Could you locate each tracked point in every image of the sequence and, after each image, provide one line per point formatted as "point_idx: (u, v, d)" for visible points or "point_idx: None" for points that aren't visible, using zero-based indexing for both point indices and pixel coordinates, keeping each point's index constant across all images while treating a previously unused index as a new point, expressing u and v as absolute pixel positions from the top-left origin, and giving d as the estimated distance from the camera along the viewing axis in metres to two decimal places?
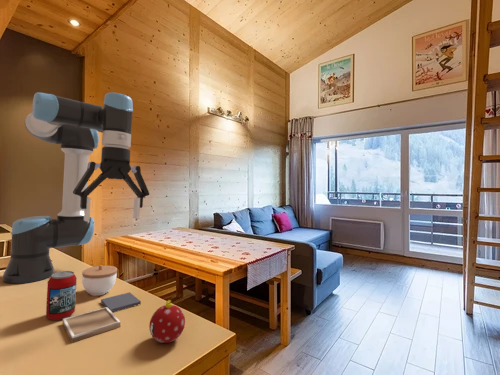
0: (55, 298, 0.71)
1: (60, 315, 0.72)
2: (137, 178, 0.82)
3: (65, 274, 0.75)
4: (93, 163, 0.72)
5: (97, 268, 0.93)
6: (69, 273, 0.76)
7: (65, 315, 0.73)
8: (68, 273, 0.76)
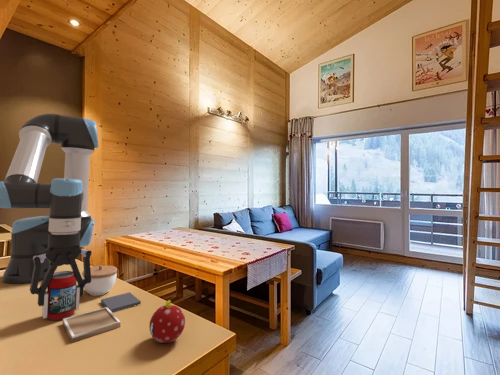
0: (55, 298, 0.71)
1: (60, 315, 0.72)
2: (84, 263, 0.78)
3: (65, 274, 0.75)
4: (37, 259, 0.69)
5: (97, 268, 0.93)
6: (69, 273, 0.76)
7: (65, 315, 0.73)
8: (68, 273, 0.76)
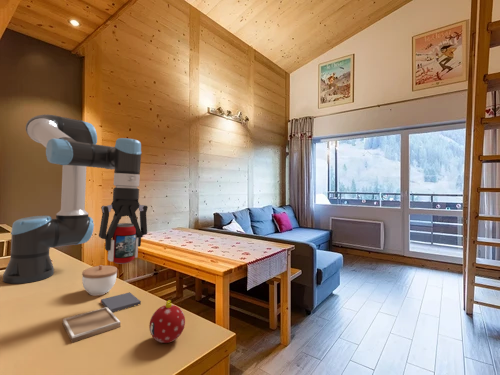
0: (120, 244, 0.81)
1: (124, 259, 0.81)
2: (141, 216, 0.88)
3: (127, 225, 0.84)
4: (106, 207, 0.79)
5: (97, 268, 0.93)
6: (129, 224, 0.85)
7: (128, 260, 0.82)
8: (129, 224, 0.85)
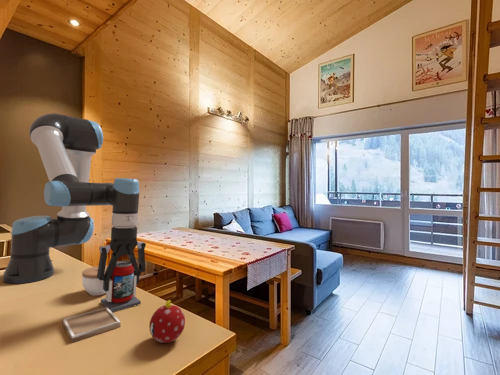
0: (118, 284, 0.81)
1: (122, 299, 0.81)
2: (139, 253, 0.88)
3: (125, 263, 0.84)
4: (104, 249, 0.79)
5: (97, 268, 0.93)
6: (127, 262, 0.85)
7: (126, 299, 0.82)
8: (127, 262, 0.85)
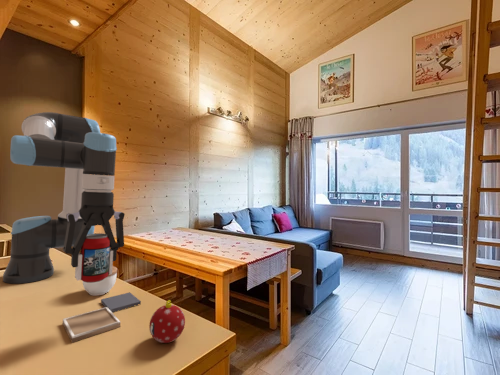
0: (89, 259, 0.67)
1: (95, 277, 0.68)
2: (117, 225, 0.74)
3: (98, 235, 0.71)
4: (71, 216, 0.65)
5: None
6: (102, 235, 0.72)
7: (100, 278, 0.69)
8: (101, 235, 0.72)
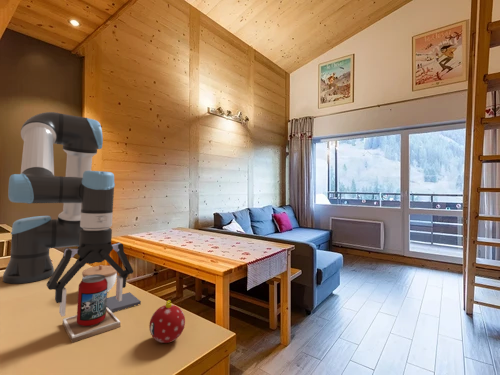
0: (87, 304, 0.67)
1: (92, 321, 0.68)
2: (120, 256, 0.75)
3: (96, 278, 0.71)
4: (69, 251, 0.65)
5: (97, 268, 0.93)
6: (100, 277, 0.72)
7: (97, 321, 0.69)
8: (99, 277, 0.72)
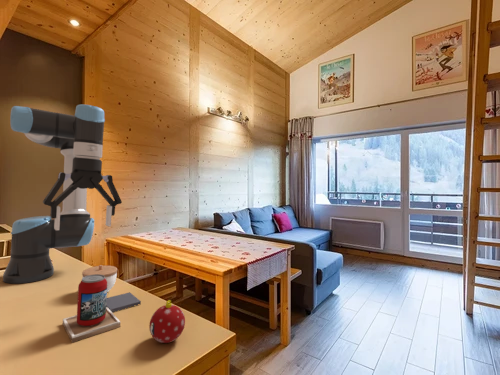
0: (86, 304, 0.67)
1: (92, 321, 0.68)
2: (109, 187, 0.84)
3: (96, 278, 0.71)
4: (63, 174, 0.74)
5: (97, 268, 0.93)
6: (100, 277, 0.72)
7: (97, 321, 0.69)
8: (99, 277, 0.72)
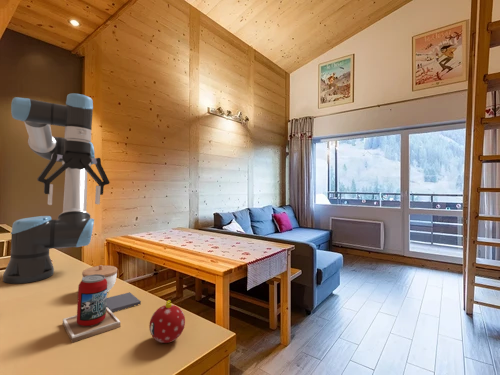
0: (87, 304, 0.67)
1: (92, 321, 0.68)
2: (98, 168, 0.93)
3: (96, 278, 0.71)
4: (55, 154, 0.83)
5: (97, 268, 0.93)
6: (100, 277, 0.72)
7: (97, 321, 0.69)
8: (99, 277, 0.72)
